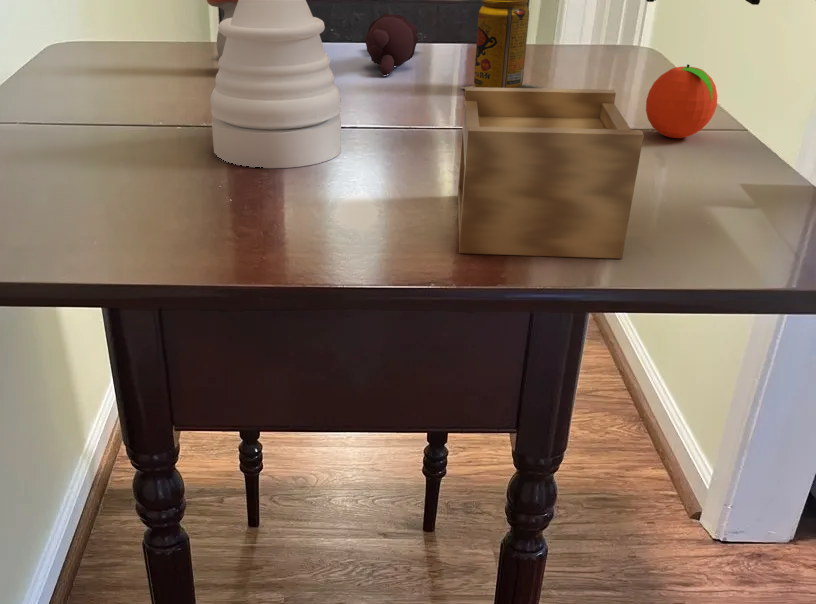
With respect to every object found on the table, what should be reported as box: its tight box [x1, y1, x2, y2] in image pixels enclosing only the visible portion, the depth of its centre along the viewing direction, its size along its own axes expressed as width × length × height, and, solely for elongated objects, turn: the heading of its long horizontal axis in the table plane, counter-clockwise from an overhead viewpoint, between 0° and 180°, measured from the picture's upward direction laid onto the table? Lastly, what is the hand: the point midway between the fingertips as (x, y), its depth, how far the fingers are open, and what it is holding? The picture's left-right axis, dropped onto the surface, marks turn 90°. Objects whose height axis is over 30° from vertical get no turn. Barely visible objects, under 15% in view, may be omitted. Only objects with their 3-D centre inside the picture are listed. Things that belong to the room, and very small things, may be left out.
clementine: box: [645, 64, 718, 139], centre depth 94 cm, size 8×7×7 cm
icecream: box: [364, 13, 419, 76], centre depth 126 cm, size 7×7×15 cm
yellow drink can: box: [458, 0, 547, 90], centre depth 113 cm, size 7×8×12 cm
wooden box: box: [457, 86, 645, 260], centre depth 72 cm, size 12×14×9 cm
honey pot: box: [209, 0, 342, 169], centre depth 88 cm, size 13×13×18 cm
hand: (699, 1), depth 89 cm, fingers open, 9 cm apart
